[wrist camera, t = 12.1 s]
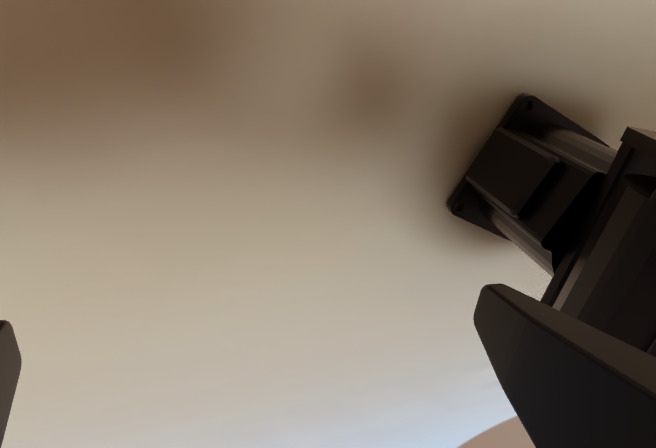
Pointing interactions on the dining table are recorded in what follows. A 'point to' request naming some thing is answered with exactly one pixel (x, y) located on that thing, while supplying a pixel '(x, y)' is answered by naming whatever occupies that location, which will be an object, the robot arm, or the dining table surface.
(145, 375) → the dining table surface
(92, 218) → the dining table surface
